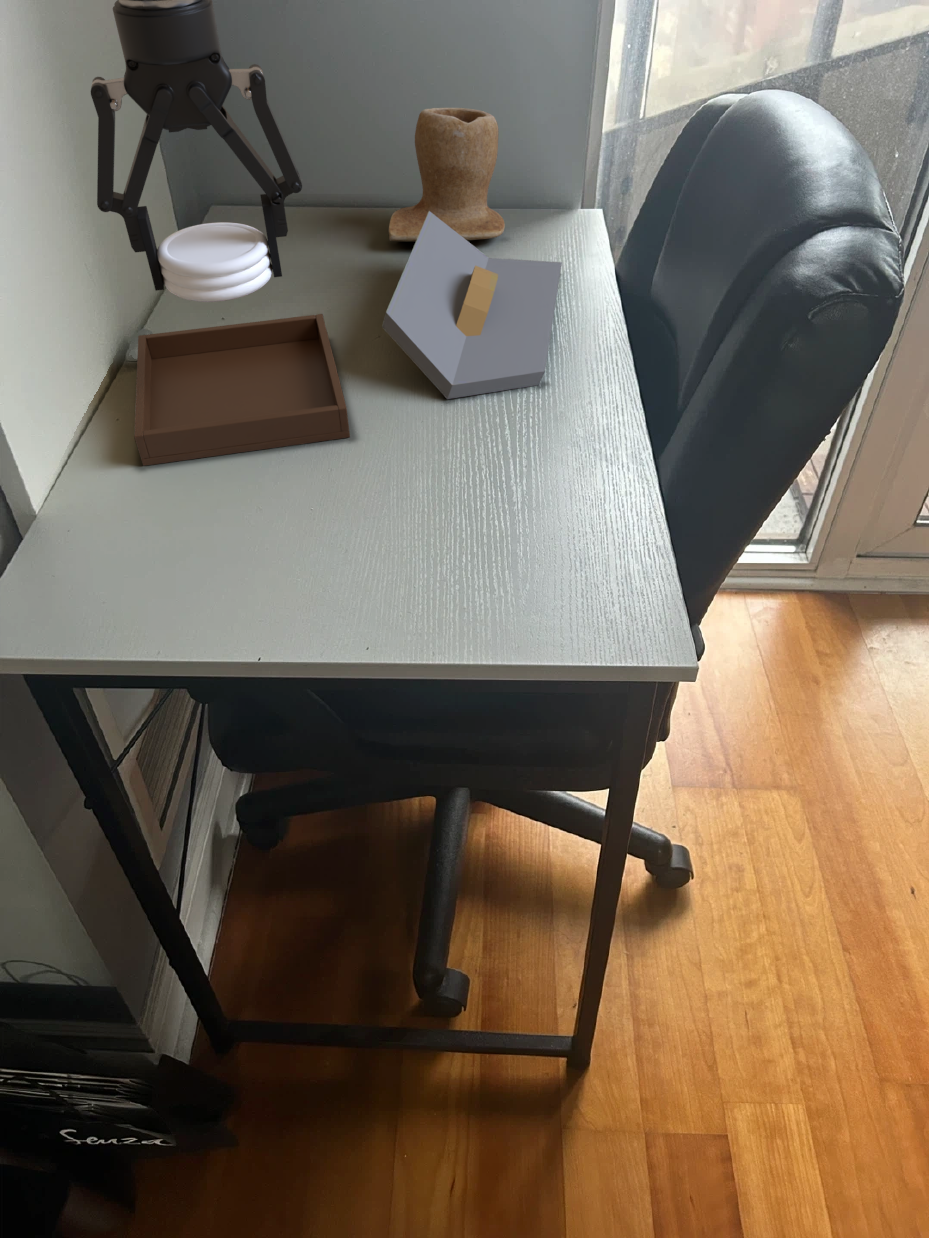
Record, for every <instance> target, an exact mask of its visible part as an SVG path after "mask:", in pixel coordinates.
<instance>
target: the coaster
mask: <svg viewBox="0 0 929 1238" xmlns="http://www.w3.org/2000/svg"><path fill="white" fill-rule="evenodd" d="M157 259H158V261H159V262H160V271H161V273H162V275H163V283H164V287H165V288H166V289H167V290H168V292H169V293H171V294H173V295H175V296H176V297H178V298H180V299H182V300H188V301H191V302H199V303H200V302H201V303H216V302H226V301H230V300H235V299H239V298H243V297H246V296H249V295H251V294H253V293H255V292H257V291H259V290H260V289H261V288H262V287H264V286H265V285H266V284H267V283H268V282H269V281H270V279H271V278H272V274H273V268H272V263H271V256H270V251H269V244H268V239H267V235H265V234H264V233H263V231H261V230H260V229H259V230H258V228H256V227H254V226H250V225H247V224H243V223H239V222H238V223H237V222H227V221H226V222H225V221H224V222H223V221H222V222H220V221H219V222H208V223H207V222H206V223H200V224H196V225H192V226H188V227H185V228H182V229H179V230H176V231H175V232H173V233H171V234H170V235H167V236H166V237H165V238H164V239H163V240H162V241H161V242H160V244H159V245H158V246H157Z"/></svg>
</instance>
